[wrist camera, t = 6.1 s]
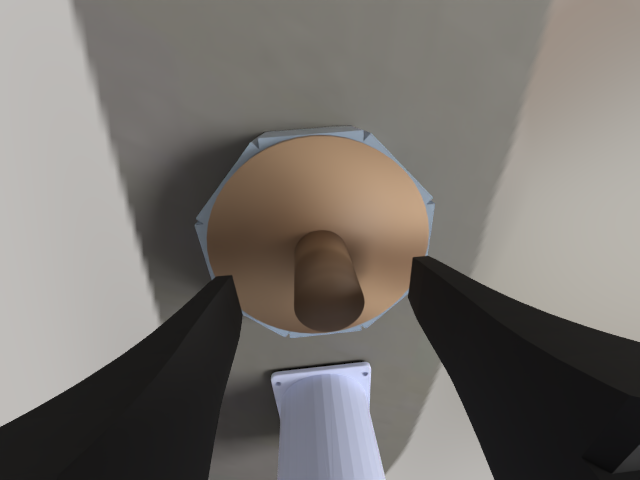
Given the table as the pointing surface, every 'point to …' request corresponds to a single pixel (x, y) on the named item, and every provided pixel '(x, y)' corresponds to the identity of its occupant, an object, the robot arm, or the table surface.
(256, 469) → the table surface
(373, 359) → the table surface
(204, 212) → the bowl
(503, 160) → the table surface
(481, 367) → the robot arm
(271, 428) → the table surface
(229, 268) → the lid
